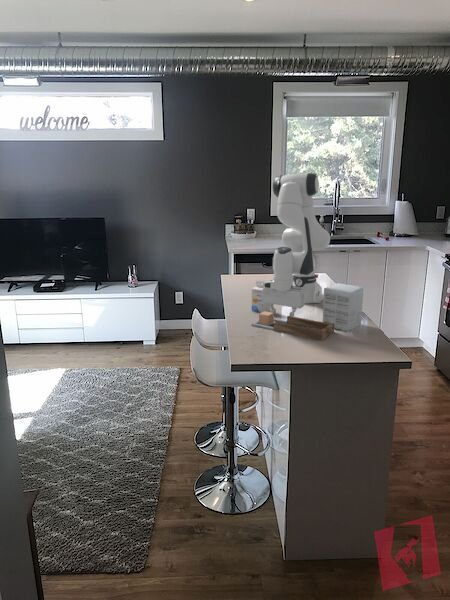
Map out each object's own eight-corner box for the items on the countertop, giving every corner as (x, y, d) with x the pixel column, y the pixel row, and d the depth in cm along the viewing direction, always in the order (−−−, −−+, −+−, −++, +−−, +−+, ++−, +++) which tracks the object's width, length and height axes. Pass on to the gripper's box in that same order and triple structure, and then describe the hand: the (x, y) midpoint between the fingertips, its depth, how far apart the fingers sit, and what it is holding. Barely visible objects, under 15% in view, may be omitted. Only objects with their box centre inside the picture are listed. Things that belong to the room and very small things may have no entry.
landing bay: (266, 318, 228) (266, 317, 228) (288, 322, 222) (288, 321, 222) (251, 325, 218) (251, 323, 218) (273, 330, 212) (273, 328, 212)
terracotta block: (264, 321, 224) (264, 311, 223) (273, 323, 222) (274, 312, 220) (258, 324, 221) (258, 313, 219) (268, 326, 218) (268, 315, 216)
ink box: (251, 311, 241) (251, 282, 237) (255, 308, 245) (255, 280, 242) (266, 313, 237) (267, 284, 233) (270, 310, 241) (271, 282, 237)
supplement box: (335, 318, 227) (337, 282, 223) (361, 324, 219) (364, 286, 215) (321, 325, 218) (323, 288, 213) (348, 331, 209) (351, 292, 205)
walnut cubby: (288, 322, 222) (288, 315, 221) (334, 332, 209) (334, 324, 208) (273, 330, 212) (274, 322, 211) (320, 340, 199) (321, 332, 198)
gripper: (307, 286, 208) (306, 316, 212) (267, 280, 220) (266, 309, 224) (300, 289, 203) (299, 320, 207) (259, 283, 215) (259, 312, 219)
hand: (282, 314), depth 216 cm, fingers open, 8 cm apart
